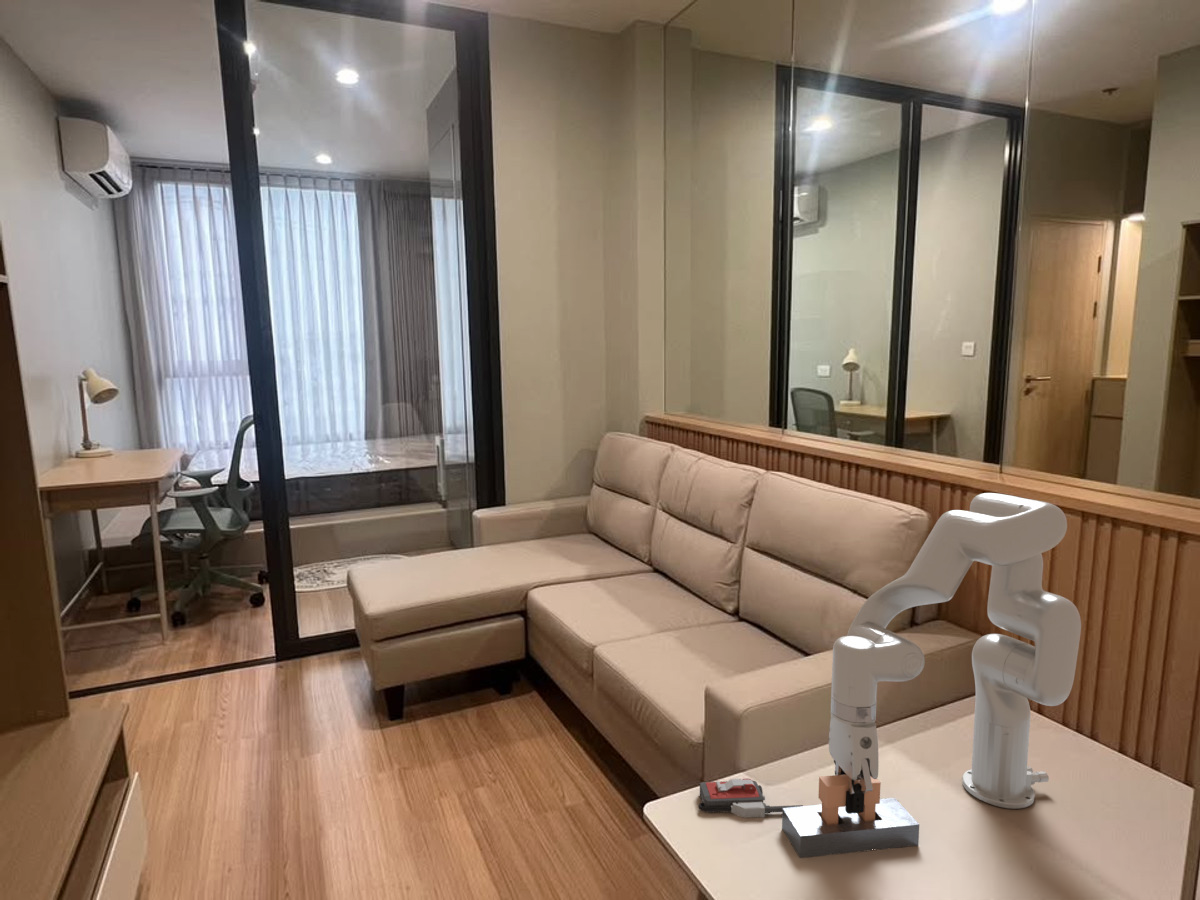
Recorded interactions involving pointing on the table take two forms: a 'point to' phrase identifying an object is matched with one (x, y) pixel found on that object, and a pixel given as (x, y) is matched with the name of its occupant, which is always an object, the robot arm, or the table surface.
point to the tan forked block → (844, 798)
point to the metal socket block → (849, 830)
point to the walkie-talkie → (736, 798)
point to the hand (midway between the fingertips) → (849, 804)
